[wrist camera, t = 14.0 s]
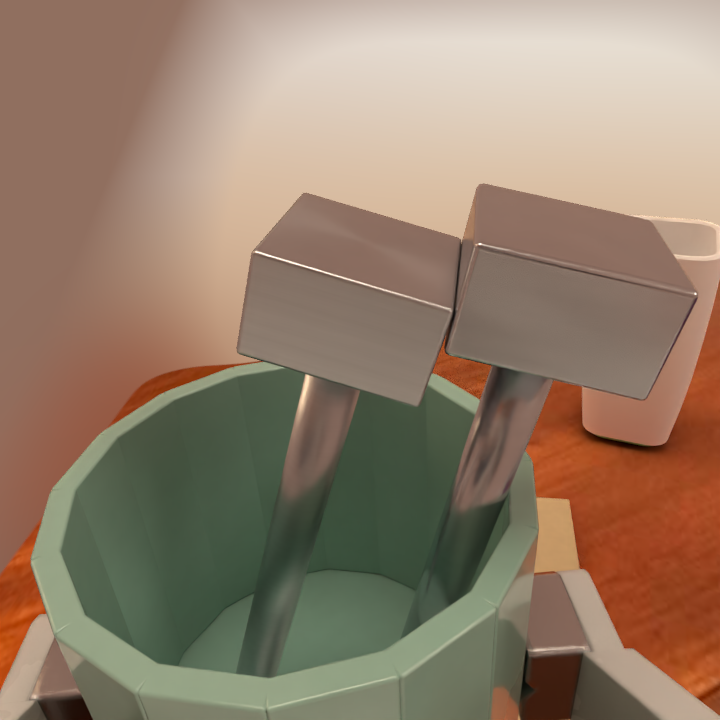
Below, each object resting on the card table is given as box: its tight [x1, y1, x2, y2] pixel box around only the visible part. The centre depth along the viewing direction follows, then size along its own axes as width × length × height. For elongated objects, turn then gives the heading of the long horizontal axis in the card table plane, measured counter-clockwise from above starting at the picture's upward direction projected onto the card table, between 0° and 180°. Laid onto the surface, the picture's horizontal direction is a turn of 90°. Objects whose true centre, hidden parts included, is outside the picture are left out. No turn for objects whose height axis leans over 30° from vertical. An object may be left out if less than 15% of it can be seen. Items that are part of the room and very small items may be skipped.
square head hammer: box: [236, 193, 461, 678], centre depth 9 cm, size 2×2×9 cm
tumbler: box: [31, 362, 539, 720], centre depth 11 cm, size 6×6×9 cm
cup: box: [582, 215, 720, 446], centre depth 44 cm, size 7×7×15 cm
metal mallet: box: [400, 184, 698, 639], centre depth 9 cm, size 2×2×9 cm
